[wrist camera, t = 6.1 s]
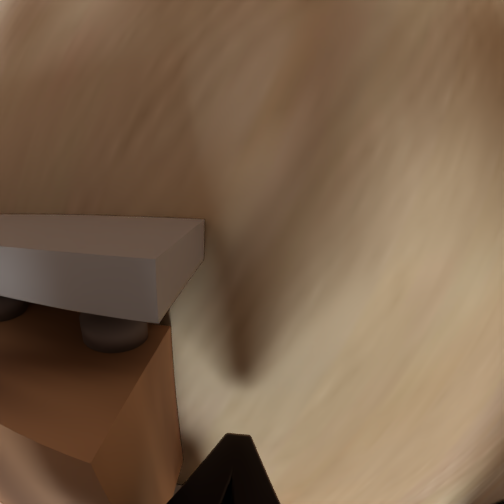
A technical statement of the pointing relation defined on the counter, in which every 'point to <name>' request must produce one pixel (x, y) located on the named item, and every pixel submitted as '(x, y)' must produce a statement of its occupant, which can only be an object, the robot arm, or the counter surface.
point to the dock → (99, 262)
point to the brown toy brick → (85, 408)
